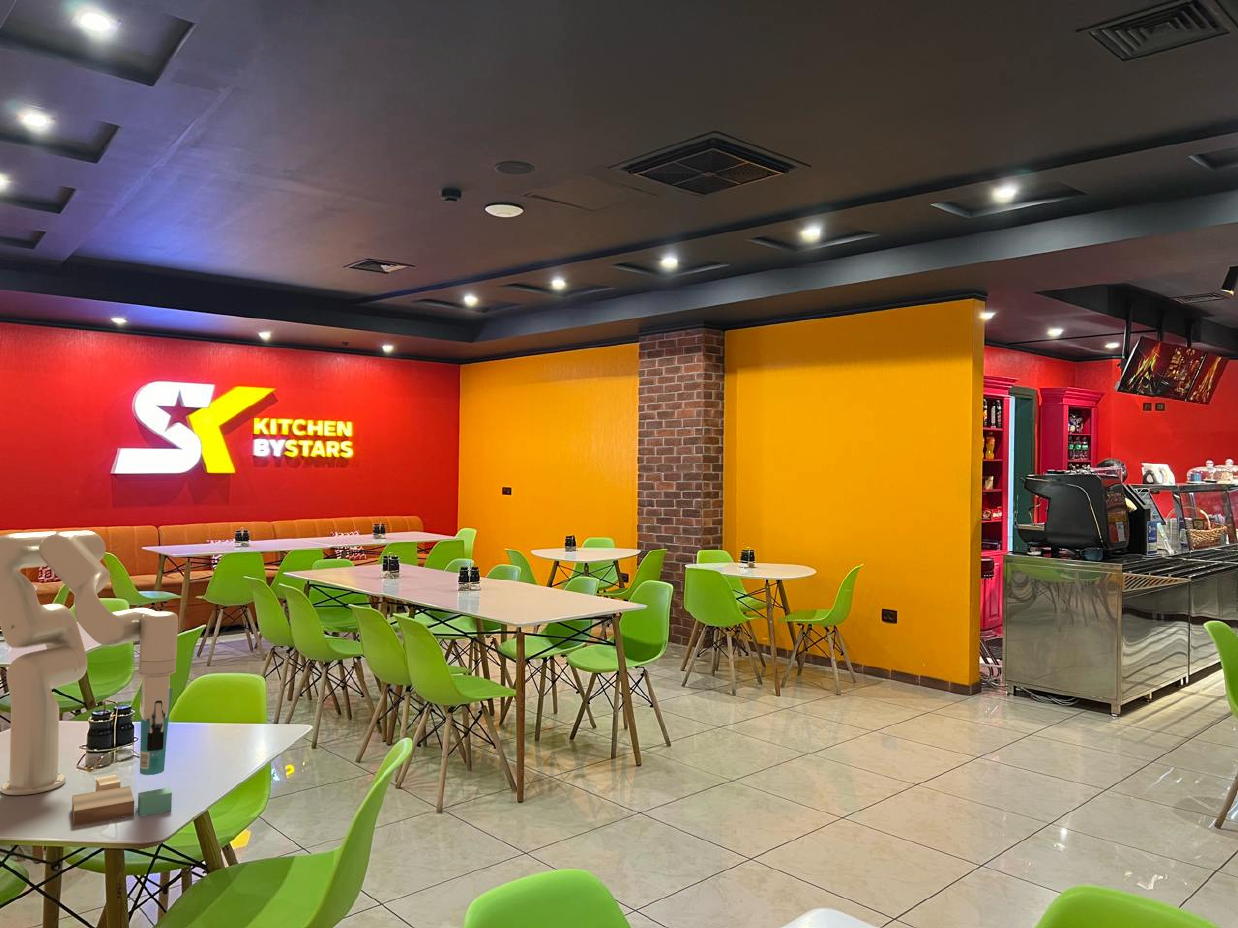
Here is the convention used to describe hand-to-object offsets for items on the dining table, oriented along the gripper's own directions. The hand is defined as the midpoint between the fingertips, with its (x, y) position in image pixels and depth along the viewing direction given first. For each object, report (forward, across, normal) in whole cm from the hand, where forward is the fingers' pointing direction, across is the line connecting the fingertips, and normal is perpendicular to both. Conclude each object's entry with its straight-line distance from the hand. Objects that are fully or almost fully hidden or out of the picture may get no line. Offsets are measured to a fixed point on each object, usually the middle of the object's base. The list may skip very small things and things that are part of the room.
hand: (153, 745), depth 197 cm
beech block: (+12, -6, -8) cm, 16 cm away
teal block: (+12, +9, 0) cm, 15 cm away
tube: (+6, 0, 0) cm, 6 cm away
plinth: (+12, +4, -10) cm, 16 cm away
